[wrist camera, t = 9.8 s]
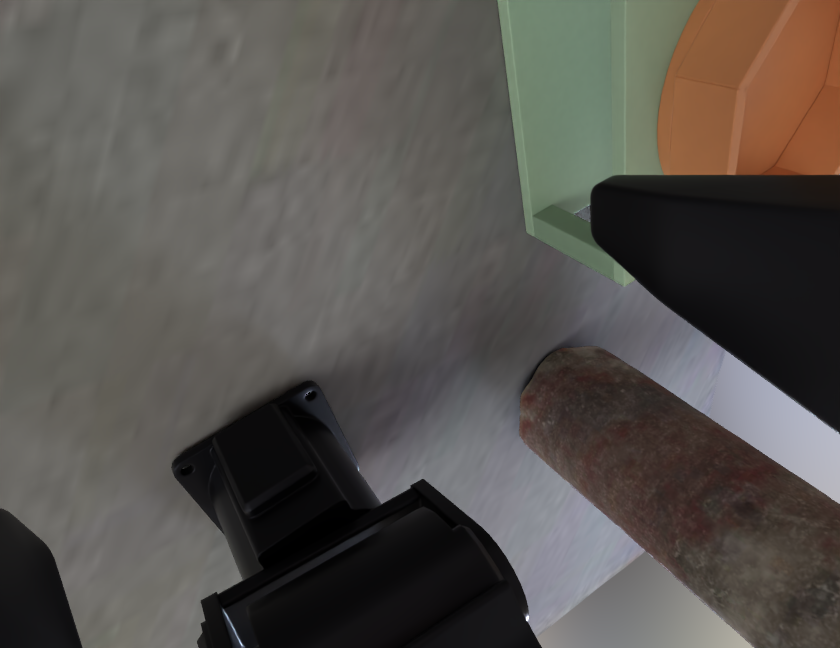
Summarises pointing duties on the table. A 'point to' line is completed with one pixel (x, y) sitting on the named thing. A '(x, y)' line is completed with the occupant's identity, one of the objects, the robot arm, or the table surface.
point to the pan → (753, 90)
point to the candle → (691, 496)
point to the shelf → (585, 106)
